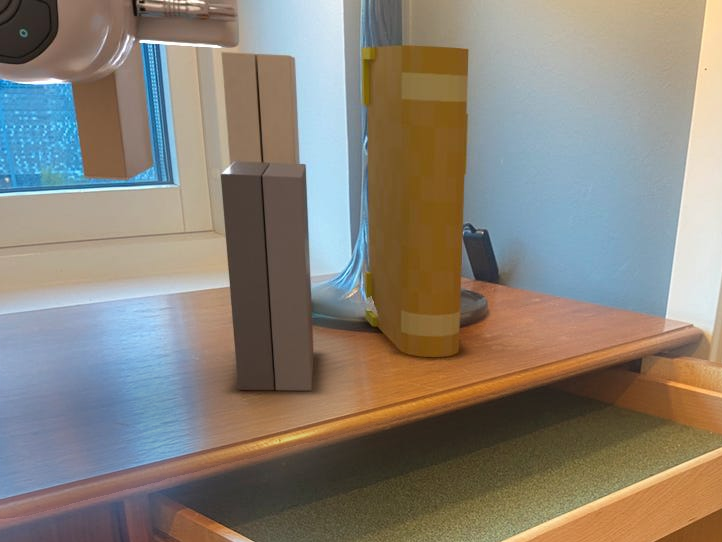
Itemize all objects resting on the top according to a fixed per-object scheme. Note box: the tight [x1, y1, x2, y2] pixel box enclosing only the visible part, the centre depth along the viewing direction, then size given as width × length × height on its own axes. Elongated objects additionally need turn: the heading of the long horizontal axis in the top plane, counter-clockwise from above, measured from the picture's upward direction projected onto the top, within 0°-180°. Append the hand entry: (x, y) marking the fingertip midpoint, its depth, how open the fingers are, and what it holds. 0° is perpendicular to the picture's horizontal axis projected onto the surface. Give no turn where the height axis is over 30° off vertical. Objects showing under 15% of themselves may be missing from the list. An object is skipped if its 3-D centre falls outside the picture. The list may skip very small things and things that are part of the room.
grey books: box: [220, 161, 315, 392], centre depth 80 cm, size 6×12×16 cm, turn 8°
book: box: [360, 44, 470, 358], centre depth 91 cm, size 17×7×25 cm, turn 17°
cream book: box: [70, 42, 155, 181], centre depth 69 cm, size 3×12×20 cm, turn 8°
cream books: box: [220, 51, 301, 166], centre depth 100 cm, size 6×14×24 cm, turn 8°
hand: (104, 12), depth 70 cm, fingers closed on cream book, 3 cm apart
